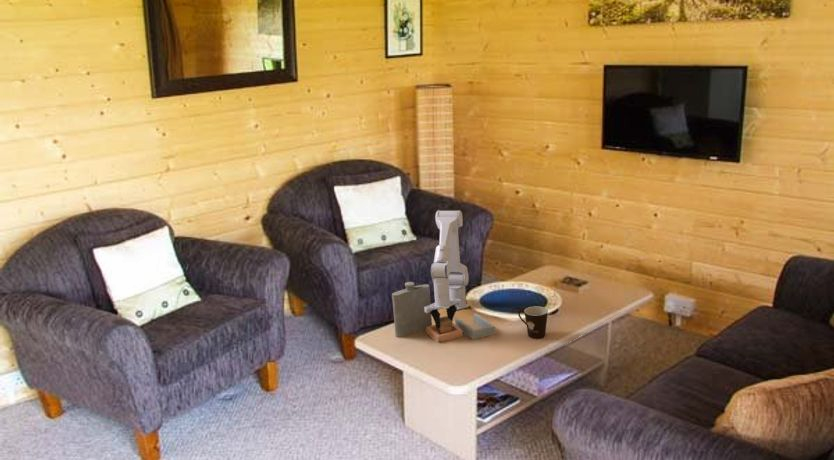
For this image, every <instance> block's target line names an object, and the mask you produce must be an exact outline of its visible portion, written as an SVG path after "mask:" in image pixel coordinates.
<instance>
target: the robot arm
mask: <svg viewBox="0 0 834 460" xmlns="http://www.w3.org/2000/svg"><path fill="white" fill-rule="evenodd" d="M463 220H464V219H463V212H462V211H461V209H460V210H440V209H438V210H437V211H436V212H435V224H436V226H437V229H439V244H438V245H437V246H436V247H435V252H434V259H433V263H431V266H430V276H431V281H432V283H433V292H434V294H433V295H434V302H433V303H431V305H428V306H426V307H424V311H425V312H426V313H429V312H430V313H431V317H432V320H433V321H434V323H435V324H434V325H436V327H437V328H440V318H441V313H440V312H439V310H442V309H444V310H446V316H447V317H448V318H449V319H451V322H452V323H453V319H454V317H455V314H456V312H457V311H458V310H459V311H460V310H463V309H466V308H470V307H469V306H468V305H467V304H468V303H467V300H466V299H467V298H466V295H467V294H466V286H468V284H469V271H468V267H467V266H466V265H465V264H464V263H461V258H460V255H461V254H460V243H459V240H460V239H459V228H461V227H463ZM466 303H467V304H466Z"/></svg>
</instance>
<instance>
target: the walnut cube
mask: <svg viewBox="0 0 834 460" xmlns="http://www.w3.org/2000/svg"><path fill="white" fill-rule="evenodd" d="M452 323H453V321H452V322H451V319H449V318H448V317H447V315H446V316H442V317H441V316H440V328H437V327H436V330H437V331H439V332H440V333H441V334H443V333H446V332H450V331H452Z"/></svg>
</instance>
